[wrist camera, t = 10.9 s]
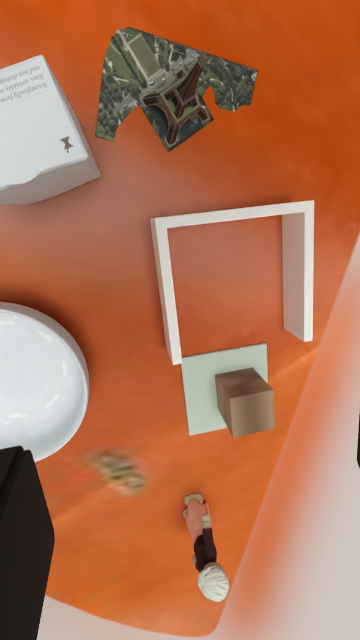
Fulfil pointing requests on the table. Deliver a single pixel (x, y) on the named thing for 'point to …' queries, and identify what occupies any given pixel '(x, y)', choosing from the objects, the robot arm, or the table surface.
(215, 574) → the grandmother figurine
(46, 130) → the skincare box
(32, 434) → the cereal bowl
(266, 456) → the table surface
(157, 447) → the table surface
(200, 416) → the sage mat
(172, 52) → the eiffel tower figurine
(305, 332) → the open side box
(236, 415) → the walnut block
